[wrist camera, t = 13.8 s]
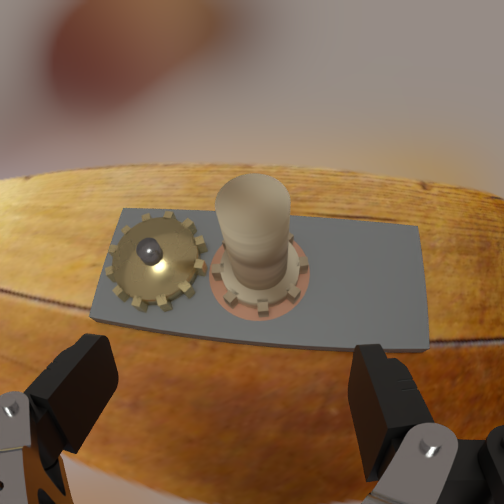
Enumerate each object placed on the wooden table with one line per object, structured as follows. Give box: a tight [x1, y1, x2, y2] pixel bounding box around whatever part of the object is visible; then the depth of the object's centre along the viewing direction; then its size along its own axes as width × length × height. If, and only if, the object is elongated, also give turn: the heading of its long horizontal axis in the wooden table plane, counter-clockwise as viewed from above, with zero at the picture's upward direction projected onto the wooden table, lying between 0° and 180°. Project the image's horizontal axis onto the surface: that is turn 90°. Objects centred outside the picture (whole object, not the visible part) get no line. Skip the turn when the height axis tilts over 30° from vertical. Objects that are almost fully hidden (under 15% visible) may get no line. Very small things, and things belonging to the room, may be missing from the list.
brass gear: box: [105, 211, 208, 313], centre depth 27 cm, size 9×9×3 cm
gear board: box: [89, 208, 429, 352], centre depth 28 cm, size 30×12×2 cm, turn 83°
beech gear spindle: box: [212, 174, 309, 318], centre depth 23 cm, size 8×8×10 cm
